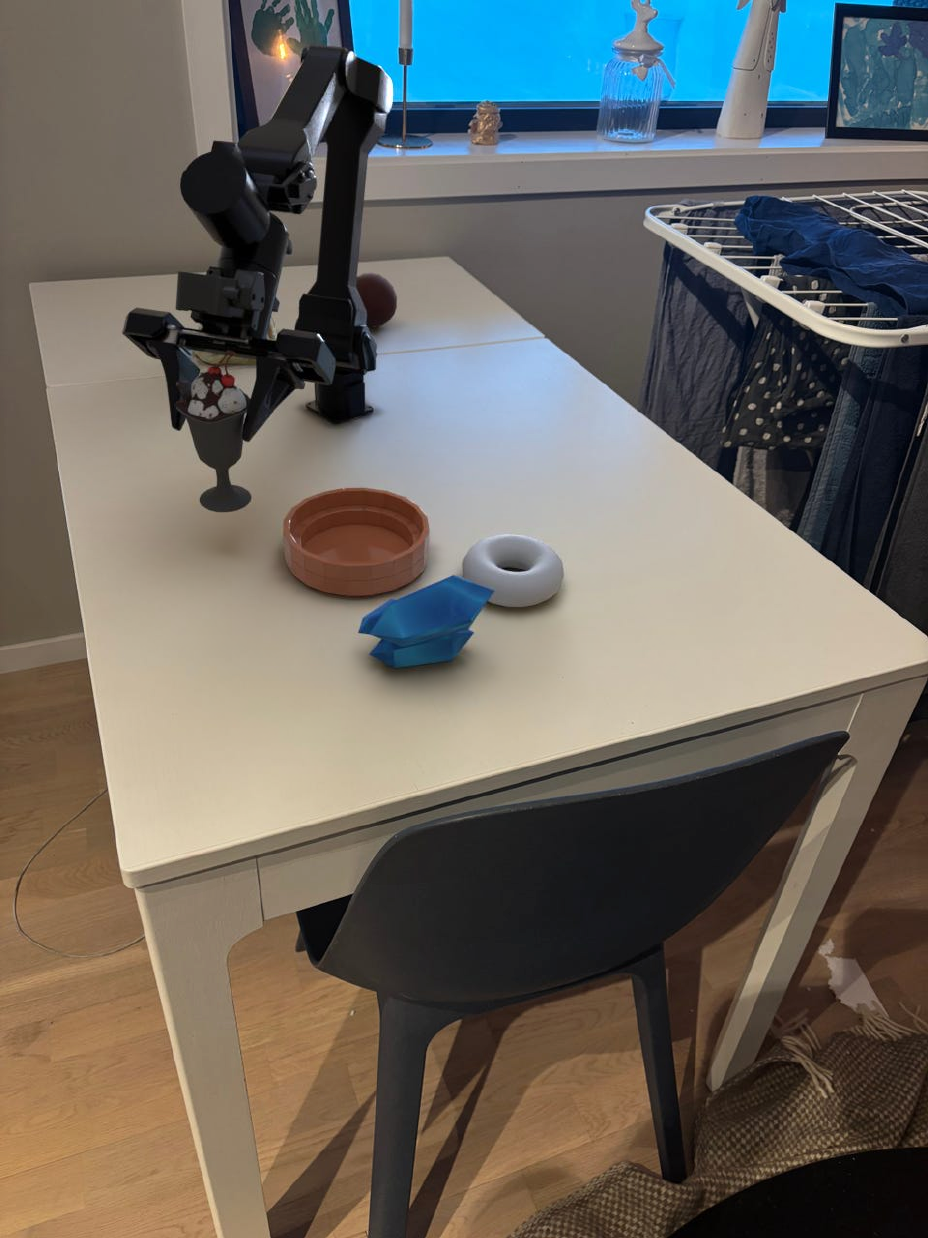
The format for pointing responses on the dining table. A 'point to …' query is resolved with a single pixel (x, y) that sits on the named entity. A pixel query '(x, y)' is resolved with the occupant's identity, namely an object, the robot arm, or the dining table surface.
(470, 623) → the crystal
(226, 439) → the sundae
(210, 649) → the dining table surface
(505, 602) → the donut
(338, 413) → the robot arm
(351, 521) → the bowl
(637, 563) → the dining table surface
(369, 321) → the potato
